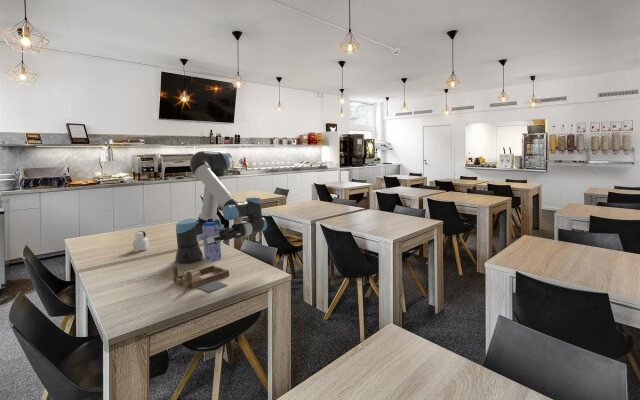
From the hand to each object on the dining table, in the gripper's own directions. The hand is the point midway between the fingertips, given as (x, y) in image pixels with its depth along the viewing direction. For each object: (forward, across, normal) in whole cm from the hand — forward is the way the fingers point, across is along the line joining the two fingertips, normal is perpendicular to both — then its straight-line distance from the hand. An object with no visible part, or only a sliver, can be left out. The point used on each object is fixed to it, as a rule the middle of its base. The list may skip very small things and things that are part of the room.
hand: (202, 239), depth 160 cm
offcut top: (+1, +9, -20) cm, 22 cm away
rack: (-4, +9, -22) cm, 25 cm away
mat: (-1, -4, -22) cm, 23 cm away
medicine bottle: (-12, +89, -22) cm, 93 cm away
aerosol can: (-5, 0, -11) cm, 12 cm away
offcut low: (+2, +9, -23) cm, 25 cm away
